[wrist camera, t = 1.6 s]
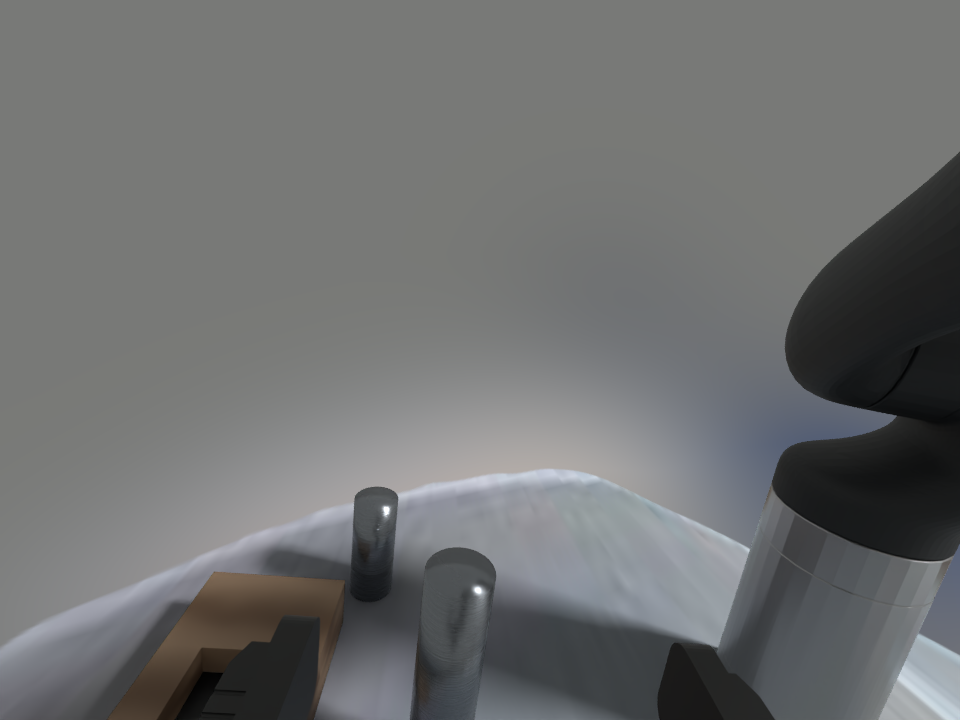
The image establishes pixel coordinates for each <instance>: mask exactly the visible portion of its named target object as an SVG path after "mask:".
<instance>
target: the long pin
mask: <svg viewBox="0 0 960 720" xmlns="http://www.w3.org/2000/svg"><path fill="white" fill-rule="evenodd" d="M495 581H496V571H495V568H494V566H493V564H492V563H491V562H490V561H489V559H487V558H486V557H485V556H484V555H482V554H481V553H479V552H476V551H474V550H471V549H467V548H448V549H444V550H441V551H439V552H437V553H435V554H434V555H433V556H432V557H431V558H430V559H429V560H428V562H427V563H426V566H425V575H424V584H423V594H422V604H421V614H420V624H419V633H418V643H417V653H416V663H415V673H414V683H413V692H412V702H411V712H410V720H474V719H475V712H476V706H477V699H478V693H479V686H480V679H481V673H482V666H483V660H484V653H485V647H486V640H487V633H488V627H489V620H490V614H491V607H492V601H493V594H494V587H495Z"/></svg>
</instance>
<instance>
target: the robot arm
mask: <svg viewBox="0 0 960 720" xmlns="http://www.w3.org/2000/svg"><path fill="white" fill-rule="evenodd" d="M785 353H786V360H787V363H788V366H789V369H790V372H791V373H792V375H793V376H794V378H795V380H796V381H797V382H798V383H799V384H800V385H801V386H802V387H803V388H804V389H806V390H807V391H809V392H811V393H813V394H815V395H817V396H819V397H821V398H823V399H826V400H829V401H832V402H835V403H839V404H844V405H848V406H852V407H857V408H861V409H867V410H871V411H876V412H881V413H886V414H892V415H897V417H896V418H895V419H894V420H893V421H892V422H891V423H890V424H888V425H886V426H885V427H882V428H881V429H878V430H875V431H873V432H870V433H866V434H863V435H858V436H853V437H848V438H840V439H829V440H816V441H807V442H801V443H797V444H795V445H792V446H790V447H789V448H787V449H786V450H785V451H784V452H783V454H782V455H781V457H780V459H779V462H778V464H777V467H776V471H775V474H774V477H773V480H772V483H771V486H770V490H769V492H768V496H767V498H766V502H765V505H764V508H763V511H762V514H761V517H760V521H759V524H758V527H757V530H756V534H755V536H754V540H753V543H752V546H751V549H750V552H749V555H748V558H747V561H746V564H745V567H744V570H743V573H742V577H741V580H740V583H739V586H738V589H737V592H736V595H735V598H734V601H733V604H732V607H731V610H730V614H729V617H728V620H727V623H726V626H725V629H724V632H723V634H722V637H721V641H720V644H719V647H718V650H717V653H716V652H715V651H714V650H713V649H712V647H710V646H709V645H703V644H688V643H674V644H673V645H672V646H671V649H670V652H669V656H668V659H667V663H666V667H665V670H664V674H663V677H662V681H661V685H660V688H659V692H658V713H659V718H660V720H878V719H879V717H880V714H881V712H882V710H883V708H884V706H885V704H886V702H887V699H888V697H889V695H890V693H891V691H892V689H893V686H894V684H895V682H896V680H897V678H898V676H899V673H900V671H901V669H902V667H903V665H904V663H905V661H906V658H907V656H908V654H909V652H910V650H911V648H912V645H913V643H914V641H915V639H916V637H917V635H918V633H919V630H920V628H921V626H922V624H923V621H924V620H925V617H926V615H927V613H928V611H929V609H930V606H931V604H932V602H933V600H934V598H935V595H936V593H937V591H938V589H939V586H940V584H941V582H942V580H943V578H944V576H945V574H946V571H947V569H948V567H949V565H950V563H951V561H952V559H953V556H954V554H955V552H956V550H957V548H958V546H959V544H960V152H959V153H958V154H957V155H956V156H955V157H954V158H953V159H952V160H950V161H949V162H948V163H947V164H946V165H945V166H944V167H943V168H942V169H941V170H939V171H938V172H937V173H936V174H935V175H934V176H933V177H931V178H930V179H929V180H928V181H927V182H926V183H924V184H923V185H922V186H921V187H920V188H918V189H917V190H916V191H915V192H914V193H912V194H911V195H910V196H909V197H907V198H906V199H905V200H904V201H902V202H901V203H900V204H899V205H897V206H896V207H895V208H894V209H892V210H891V211H890V212H889V213H887V214H886V215H885V216H884V217H882V218H881V219H880V220H879V221H877V222H876V223H875V224H874V225H873V226H871V227H870V228H869V229H867V230H866V231H865V232H864V233H862V234H861V235H860V236H859V237H857V238H856V239H855V240H854V241H853V242H852V243H850V244H849V245H848V246H847V247H845V249H843V250H842V251H841V252H840V253H839V254H837V256H835V257H834V258H833V259H832V260H831V261H830V262H829V263H828V264H827V265H826V266H825V267H824V268H823V269H822V270H821V272H820V273H819V274H818V275H817V276H816V278H815V279H814V280H813V281H812V282H811V284H810V285H809V286H808V288H807V289H806V291H805V292H804V294H803V295H802V297H801V299H800V301H799V302H798V305H797V306H796V308H795V310H794V313H793V315H792V317H791V320H790V323H789V326H788V329H787V334H786V341H785ZM319 638H320V618H319V617H313V616H298V615H284V616H283V617H282V619H281V620H280V622H279V624H278V626H277V629H276V631H275V633H274V635H273V637H272V639H271V641H270V642H257V641H251V642H250V643H249V644H248V645H247V646H246V647H245V648H244V649H243V650H242V651H241V652H240V653H239V654H238V655H237V656H236V657H235V658H234V659H232V660H231V661H230V662H229V664H228V666H227V667H226V669H225V671H224V673H223V675H222V676H221V678H220V680H219V682H218V684H217V686H216V687H215V689H214V693H213V695H211V696H210V698H209V700H208V702H207V704H206V705H205V707H204V709H203V711H202V714H201V717H200V718H198V720H307V717H308V714H309V711H310V708H311V704H312V701H313V697H314V692H315V687H316V682H317V675H318V658H319Z"/></svg>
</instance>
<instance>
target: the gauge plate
mask: <svg viewBox="0 0 960 720" xmlns="http://www.w3.org/2000/svg"><path fill="white" fill-rule="evenodd" d="M344 591H345V580H332V579H317V578H301V577H286V576H271V575H256V574H240V573H225V572H214V573H213V574H212V575H211V577H210V578H209V579H208V581H207V582H206V584H205V585H204V586H203V588H202V589H201V590H200V592H199V593H198V595H197V596H196V597H195V599H194V600H193V601H192V603H191V604H190V606H189V607H188V608H187V610H186V611H185V613H184V614H183V615H182V617H181V618H180V619H179V621H178V622H177V624H176V625H175V626H174V628H173V629H172V630H171V632H170V633H169V635H168V636H167V637H166V639H165V640H164V641H163V643H162V644H161V646H160V647H159V648H158V650H157V651H156V652H155V654H154V655H153V657H152V658H151V659H150V661H149V662H148V664H147V665H146V666H145V668H144V669H143V670H142V672H141V673H140V675H139V676H138V677H137V679H136V680H135V681H134V683H133V684H132V686H131V687H130V688H129V690H128V691H127V692H126V694H125V695H124V697H123V698H122V699H121V701H120V702H119V703H118V705H117V706H116V708H115V709H114V710H113V712H112V713H111V715H110V716H109V717H108V719H107V720H175V718H176V717H177V715H178V713H179V712H180V710H181V708H182V706H183V705H184V703H185V701H186V700H187V698H188V696H189V694H190V693H191V691H192V689H193V688H194V686H195V684H196V683H197V681H198V679H199V677H200V676H201V674H202V672H219V673H224V671H225V669H226V667H227V666H228V664H229V662H230V661H231V660H232V659H234V658H235V657H236V656H237V655H238V654H239V653H240V652H241V651H242V650H243V649H244V648H245V647H246V646H247V645H248V644H249V643H250V642H251V641H257V642H270V641H271V639H272V637H273V635H274V633H275V631H276V629H277V626H278V624H279V622H280V620H281V619H282V617H283V616H284V615H298V616H313V617H319V618H320V638H319V658H318V675H317V682H316V687H315V692H314V697H313V701H312V704H311V708H310V711H309V714H308V717H307V720H313V719H314V716H315V713H316V710H317V706H318V703H319V700H320V696H321V693H322V690H323V686H324V683H325V680H326V676H327V673H328V670H329V666H330V663H331V660H332V656H333V653H334V650H335V646H336V643H337V640H338V636H339V633H340V630H341V626H342V623H343V612H344Z"/></svg>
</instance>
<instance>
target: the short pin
mask: <svg viewBox="0 0 960 720" xmlns="http://www.w3.org/2000/svg"><path fill="white" fill-rule="evenodd" d="M397 506H398V496H397V494H396V493H395V492H394V491H392V490H390V489H388V488H384V487H370V488H366V489H363V490H361V491H360V492H358V493H357V494H356V496H355V501H354V520H353V540H352V559H351V579H350V591H351V594H352V595H353V596H354V597H355V598H356V599H358V600H361V601H365V602H372V601H377V600H380V599H382V598H383V597H385V596H386V595H387V594H388V593H389V591H390V589H391V581H392V569H393V556H394V544H395V531H396V519H397Z"/></svg>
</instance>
